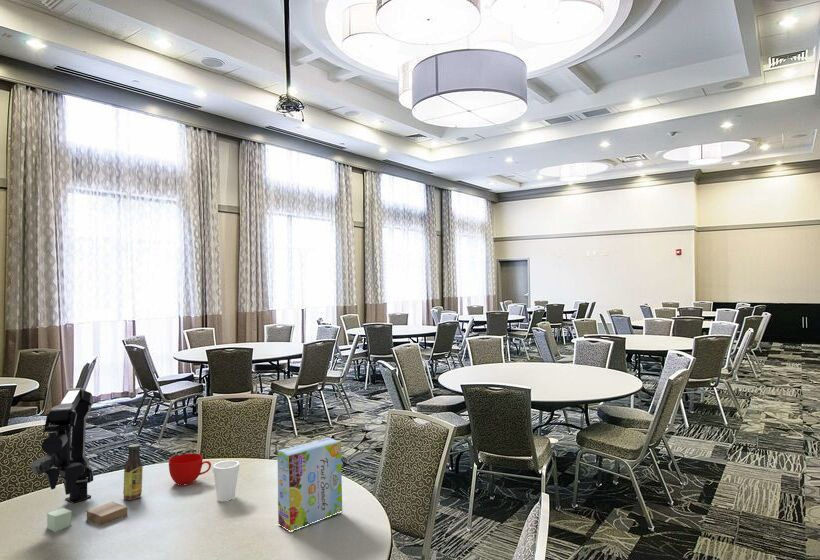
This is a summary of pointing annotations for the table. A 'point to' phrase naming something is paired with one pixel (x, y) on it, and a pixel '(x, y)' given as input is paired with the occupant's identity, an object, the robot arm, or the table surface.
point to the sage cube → (58, 519)
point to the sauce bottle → (133, 474)
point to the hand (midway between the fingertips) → (60, 491)
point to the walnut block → (106, 513)
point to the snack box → (309, 482)
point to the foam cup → (226, 479)
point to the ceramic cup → (186, 468)
